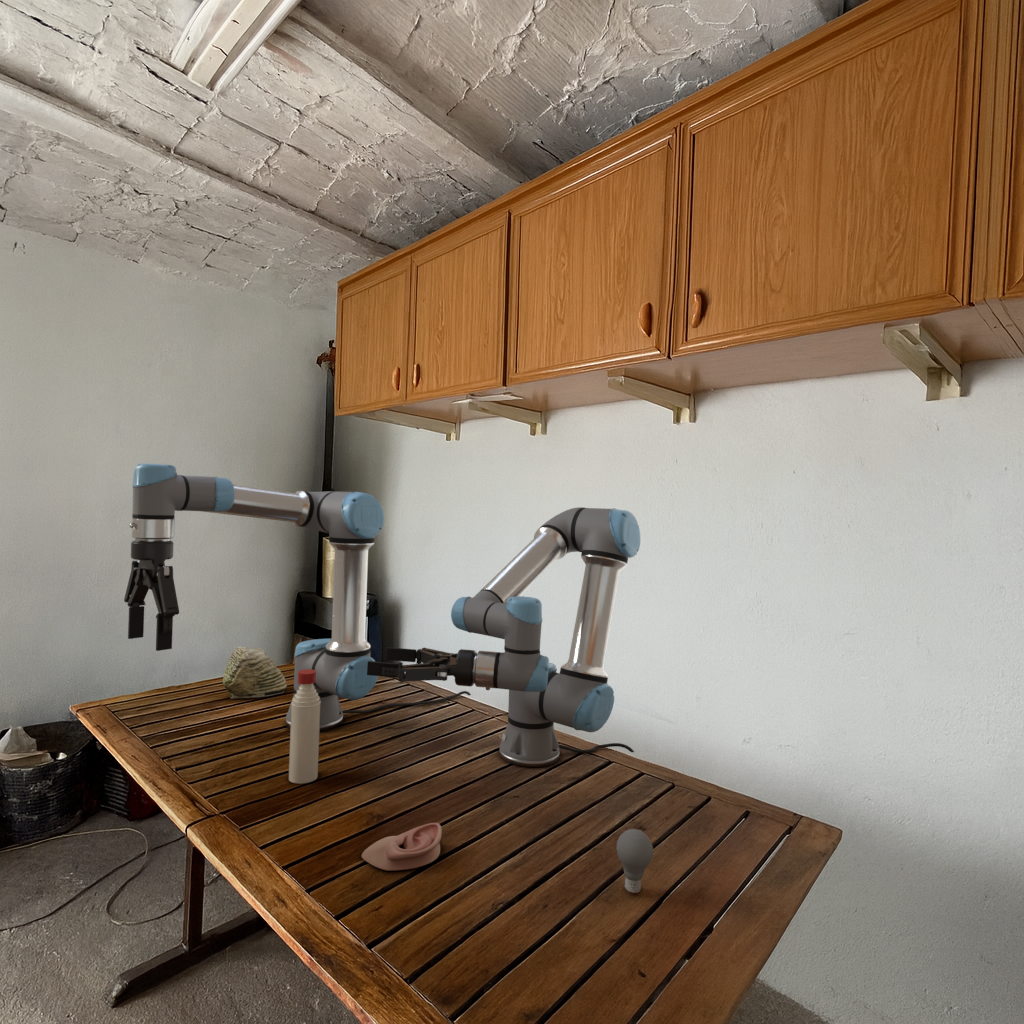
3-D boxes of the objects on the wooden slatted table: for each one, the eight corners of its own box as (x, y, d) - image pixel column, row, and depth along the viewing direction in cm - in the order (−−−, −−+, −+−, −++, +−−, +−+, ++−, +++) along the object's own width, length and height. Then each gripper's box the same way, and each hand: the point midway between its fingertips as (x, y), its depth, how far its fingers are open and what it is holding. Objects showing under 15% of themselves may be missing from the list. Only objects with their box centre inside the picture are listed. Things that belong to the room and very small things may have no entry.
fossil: (218, 695, 195) (220, 647, 195) (278, 685, 208) (279, 640, 207) (228, 703, 189) (230, 653, 188) (289, 692, 201) (290, 645, 201)
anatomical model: (354, 842, 109) (381, 811, 120) (353, 865, 109) (380, 831, 121) (427, 854, 107) (448, 821, 118) (426, 877, 107) (447, 842, 118)
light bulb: (610, 879, 108) (613, 822, 108) (644, 879, 109) (647, 822, 109) (619, 902, 102) (622, 840, 102) (655, 901, 103) (658, 840, 103)
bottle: (282, 778, 142) (286, 673, 141) (305, 769, 147) (309, 668, 146) (300, 786, 138) (304, 679, 138) (323, 776, 143) (327, 673, 143)
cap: (294, 682, 142) (294, 671, 142) (308, 678, 145) (308, 668, 145) (305, 685, 139) (305, 675, 139) (319, 681, 143) (320, 671, 143)
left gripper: (108, 535, 134) (105, 635, 134) (159, 545, 118) (155, 658, 118) (146, 535, 140) (143, 631, 140) (200, 543, 124) (196, 651, 124)
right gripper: (464, 703, 122) (357, 694, 124) (482, 671, 147) (393, 664, 149) (466, 664, 122) (359, 655, 124) (484, 639, 147) (395, 632, 149)
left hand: (149, 643), depth 129 cm, fingers open, 13 cm apart
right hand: (377, 660), depth 136 cm, fingers open, 13 cm apart
